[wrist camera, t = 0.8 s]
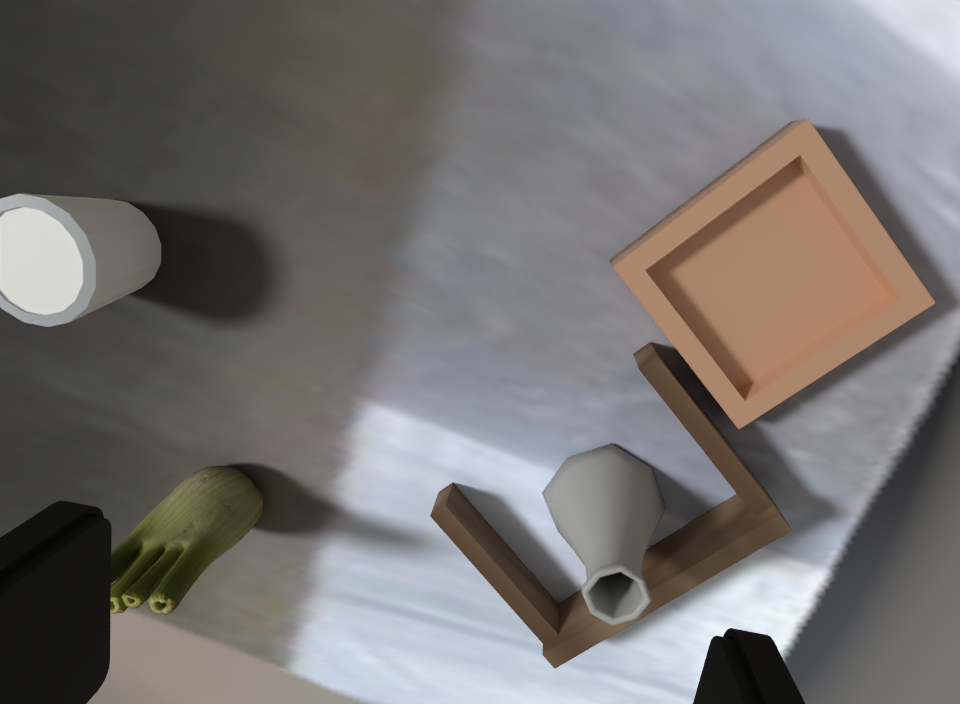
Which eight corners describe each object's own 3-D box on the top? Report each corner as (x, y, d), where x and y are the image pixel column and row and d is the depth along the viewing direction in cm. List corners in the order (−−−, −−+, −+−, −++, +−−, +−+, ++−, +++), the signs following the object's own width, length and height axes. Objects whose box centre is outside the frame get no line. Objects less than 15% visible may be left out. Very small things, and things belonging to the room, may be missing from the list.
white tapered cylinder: (191, 275, 41) (119, 297, 34) (103, 317, 42) (18, 346, 36) (134, 169, 39) (47, 170, 33) (45, 217, 41) (-56, 227, 34)
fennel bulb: (180, 495, 45) (51, 608, 34) (207, 438, 44) (82, 537, 32) (254, 537, 45) (152, 663, 34) (284, 482, 44) (187, 595, 33)
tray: (791, 121, 35) (808, 118, 32) (910, 293, 36) (935, 302, 34) (609, 260, 38) (613, 266, 35) (727, 413, 39) (738, 429, 37)
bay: (650, 342, 39) (660, 361, 35) (769, 495, 40) (791, 530, 37) (438, 492, 43) (427, 524, 39) (555, 625, 45) (554, 668, 41)
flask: (522, 488, 42) (511, 583, 33) (613, 422, 40) (631, 503, 31) (593, 568, 43) (603, 683, 34) (685, 507, 41) (724, 611, 32)
